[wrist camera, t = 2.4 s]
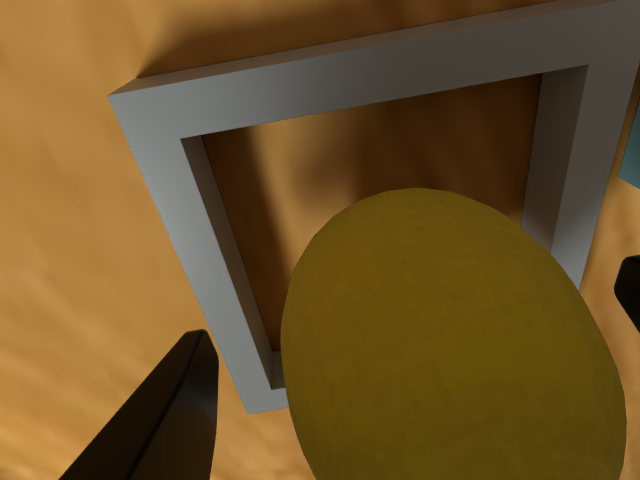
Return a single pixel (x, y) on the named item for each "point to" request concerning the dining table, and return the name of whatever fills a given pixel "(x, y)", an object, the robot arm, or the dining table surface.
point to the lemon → (445, 350)
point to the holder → (373, 87)
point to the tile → (632, 154)
